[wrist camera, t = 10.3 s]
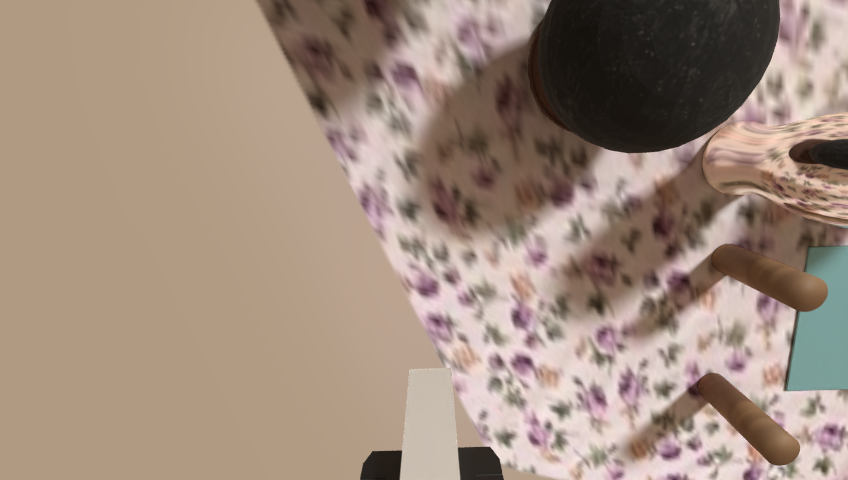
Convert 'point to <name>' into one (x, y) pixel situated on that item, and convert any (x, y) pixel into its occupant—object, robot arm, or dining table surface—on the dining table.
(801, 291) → the inner post
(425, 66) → the dining table surface
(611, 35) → the fabric smart speaker
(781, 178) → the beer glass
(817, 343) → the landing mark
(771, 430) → the outer post
